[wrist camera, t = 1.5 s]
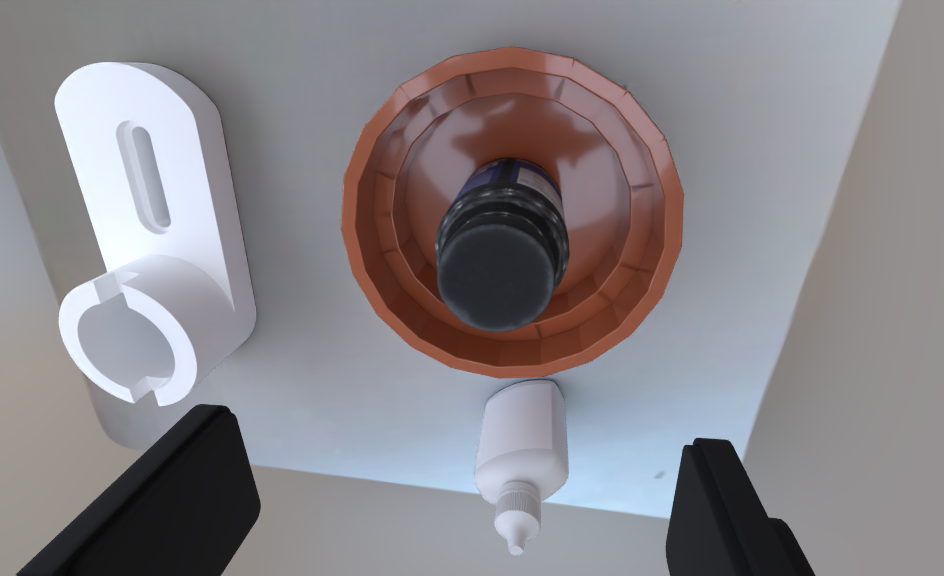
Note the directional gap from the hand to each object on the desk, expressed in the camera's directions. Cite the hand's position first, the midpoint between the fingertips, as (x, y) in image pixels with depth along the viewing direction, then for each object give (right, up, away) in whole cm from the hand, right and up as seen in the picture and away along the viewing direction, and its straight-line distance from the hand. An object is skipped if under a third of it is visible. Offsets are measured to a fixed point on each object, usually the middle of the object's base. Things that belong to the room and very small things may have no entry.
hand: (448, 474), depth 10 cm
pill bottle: (+3, +9, +19) cm, 21 cm away
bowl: (+3, +9, +19) cm, 21 cm away
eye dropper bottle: (+4, -4, +25) cm, 26 cm away
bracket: (-19, +8, +23) cm, 31 cm away
